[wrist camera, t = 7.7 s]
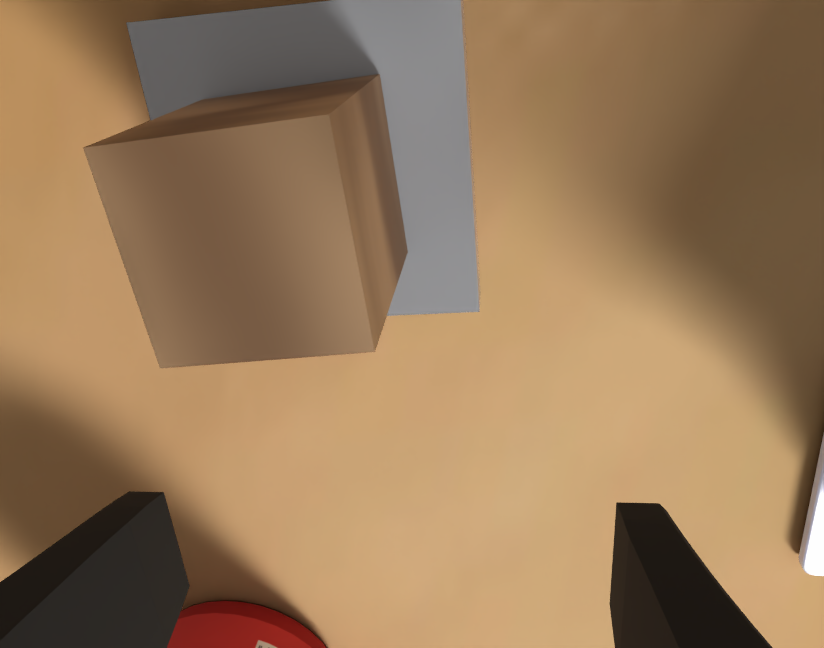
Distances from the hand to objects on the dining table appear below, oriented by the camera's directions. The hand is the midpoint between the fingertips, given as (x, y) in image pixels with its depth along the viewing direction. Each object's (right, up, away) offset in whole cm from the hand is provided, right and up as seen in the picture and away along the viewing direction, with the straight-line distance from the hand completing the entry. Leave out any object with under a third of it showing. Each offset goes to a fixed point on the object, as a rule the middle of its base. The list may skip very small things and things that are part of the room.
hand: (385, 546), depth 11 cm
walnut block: (-2, +7, +7) cm, 10 cm away
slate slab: (-2, +8, +8) cm, 12 cm away
